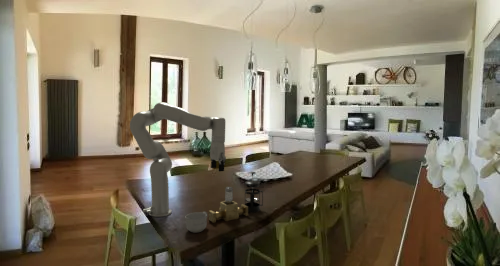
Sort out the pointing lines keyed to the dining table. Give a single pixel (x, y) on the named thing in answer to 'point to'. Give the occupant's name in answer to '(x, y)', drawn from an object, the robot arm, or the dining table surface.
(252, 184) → the french press
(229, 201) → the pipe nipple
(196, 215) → the teacup
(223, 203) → the valve body
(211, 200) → the dining table surface
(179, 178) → the dining table surface
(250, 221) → the dining table surface
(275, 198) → the dining table surface
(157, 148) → the robot arm
